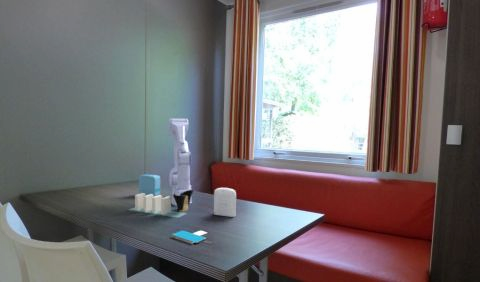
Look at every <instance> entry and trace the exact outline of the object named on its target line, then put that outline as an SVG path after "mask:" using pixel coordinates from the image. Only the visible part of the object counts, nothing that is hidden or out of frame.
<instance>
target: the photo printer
mask: <svg viewBox="0 0 480 282" xmlns="http://www.w3.org/2000/svg"><path fill="white" fill-rule="evenodd" d="M236 191H237V190H235V189H233V188H229V187H217V188H216V189H214V192H213V215H214V216H221V217H222V216H223V217H228V218H230V217H231V218H234V217H236V215H237V214H236V213H237V211H236V210H237V192H236Z"/></svg>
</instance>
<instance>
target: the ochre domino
mask: <svg viewBox="0 0 480 282" xmlns="http://www.w3.org/2000/svg"><path fill="white" fill-rule="evenodd" d="M188 210H189V206H188V196H186V197H185V200H184V207H183V210H178V212H182V213H185V212H186V211H188Z"/></svg>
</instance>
